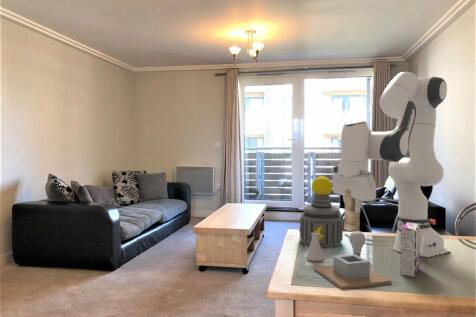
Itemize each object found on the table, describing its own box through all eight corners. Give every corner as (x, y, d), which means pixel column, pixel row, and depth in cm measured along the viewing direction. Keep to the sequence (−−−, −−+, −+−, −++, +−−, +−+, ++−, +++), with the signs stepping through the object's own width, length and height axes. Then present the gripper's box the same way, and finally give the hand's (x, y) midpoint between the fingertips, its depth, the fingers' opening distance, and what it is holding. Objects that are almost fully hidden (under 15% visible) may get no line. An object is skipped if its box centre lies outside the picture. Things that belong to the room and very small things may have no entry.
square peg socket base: (358, 265, 137) (358, 249, 137) (391, 283, 120) (391, 265, 120) (314, 269, 132) (314, 253, 132) (341, 289, 115) (342, 270, 115)
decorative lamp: (296, 246, 162) (298, 177, 161) (302, 235, 180) (303, 173, 179) (341, 250, 157) (343, 179, 156) (342, 239, 175) (344, 175, 174)
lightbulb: (345, 259, 145) (346, 230, 145) (353, 255, 150) (353, 228, 149) (360, 262, 141) (361, 233, 140) (367, 259, 145) (368, 231, 145)
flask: (324, 262, 140) (325, 236, 140) (305, 261, 142) (305, 235, 141) (324, 257, 147) (324, 231, 147) (305, 255, 149) (305, 230, 148)
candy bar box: (404, 265, 138) (405, 221, 137) (419, 268, 135) (420, 223, 134) (399, 274, 128) (400, 227, 128) (415, 277, 126) (417, 229, 125)
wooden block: (353, 228, 128) (354, 188, 127) (359, 231, 124) (360, 189, 124) (344, 229, 127) (345, 188, 126) (349, 231, 123) (351, 189, 123)
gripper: (381, 172, 115) (380, 216, 116) (345, 167, 135) (344, 205, 136) (364, 172, 114) (362, 217, 114) (329, 167, 133) (328, 205, 134)
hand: (352, 210), depth 125 cm, fingers closed on wooden block, 3 cm apart
